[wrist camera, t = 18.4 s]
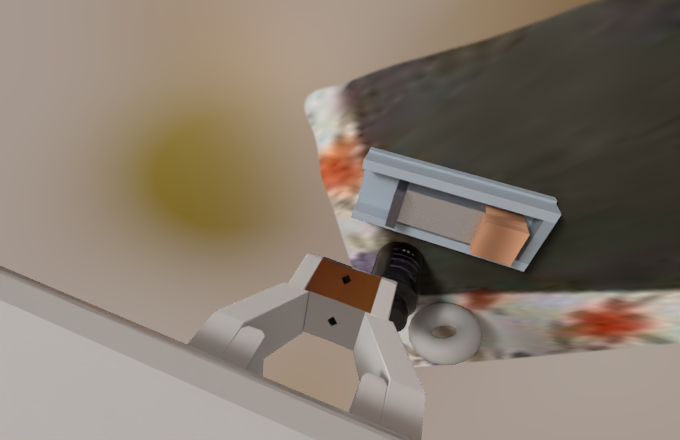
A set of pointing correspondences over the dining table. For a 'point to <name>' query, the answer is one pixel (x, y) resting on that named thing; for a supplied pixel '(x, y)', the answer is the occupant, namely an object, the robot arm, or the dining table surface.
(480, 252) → the block
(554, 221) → the channel
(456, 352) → the donut
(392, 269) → the supplement bottle
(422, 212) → the grey block
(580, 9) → the dining table surface
